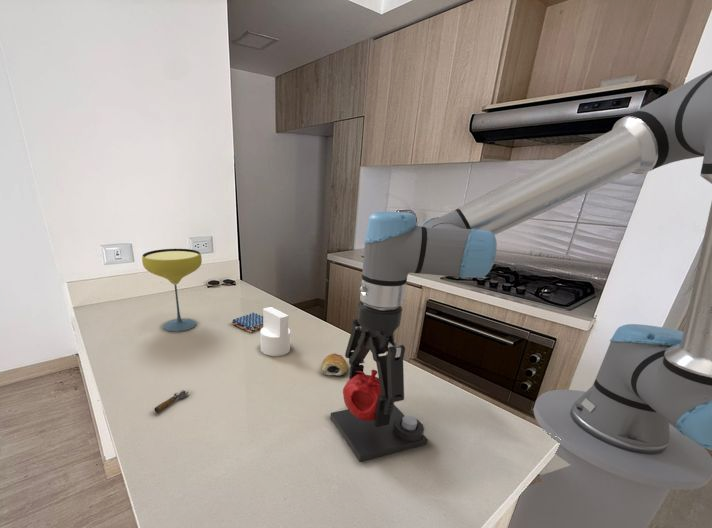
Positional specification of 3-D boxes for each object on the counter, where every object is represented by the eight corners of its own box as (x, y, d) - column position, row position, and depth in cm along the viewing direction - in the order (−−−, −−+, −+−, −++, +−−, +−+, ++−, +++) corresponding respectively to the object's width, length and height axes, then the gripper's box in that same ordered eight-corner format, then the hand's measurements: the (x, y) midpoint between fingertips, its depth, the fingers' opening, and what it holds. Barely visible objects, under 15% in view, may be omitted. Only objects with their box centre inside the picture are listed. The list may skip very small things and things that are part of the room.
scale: (390, 405, 79) (392, 394, 78) (428, 444, 68) (430, 431, 66) (330, 417, 74) (331, 406, 73) (359, 461, 63) (361, 449, 62)
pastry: (324, 358, 99) (325, 346, 97) (347, 361, 98) (349, 349, 96) (320, 375, 90) (321, 362, 89) (345, 378, 89) (347, 366, 88)
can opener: (157, 413, 74) (156, 409, 74) (151, 409, 75) (150, 404, 75) (191, 394, 81) (190, 390, 81) (184, 390, 82) (184, 386, 82)
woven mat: (230, 324, 120) (229, 319, 119) (252, 316, 127) (252, 311, 126) (249, 333, 113) (249, 327, 113) (272, 324, 121) (272, 319, 120)
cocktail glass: (156, 317, 125) (147, 248, 115) (207, 314, 128) (202, 248, 119) (147, 338, 108) (135, 260, 99) (205, 334, 112) (199, 259, 102)
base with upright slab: (254, 347, 104) (254, 310, 100) (278, 339, 110) (278, 304, 105) (271, 358, 98) (271, 320, 93) (296, 350, 103) (297, 313, 99)
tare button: (410, 420, 70) (411, 414, 69) (418, 429, 68) (420, 423, 67) (398, 423, 69) (399, 417, 69) (407, 432, 67) (408, 426, 66)
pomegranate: (337, 396, 73) (340, 358, 69) (383, 395, 74) (388, 357, 70) (347, 427, 64) (351, 385, 60) (399, 426, 64) (406, 384, 61)
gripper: (333, 286, 69) (326, 380, 77) (400, 331, 49) (381, 451, 57) (366, 283, 71) (356, 375, 79) (443, 326, 51) (418, 442, 60)
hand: (367, 407), depth 68 cm, fingers closed on pomegranate, 10 cm apart
